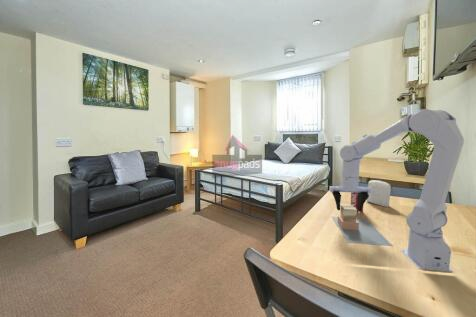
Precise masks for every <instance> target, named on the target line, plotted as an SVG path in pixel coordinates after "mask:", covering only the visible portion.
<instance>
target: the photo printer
mask: <svg viewBox="0 0 476 317" xmlns="http://www.w3.org/2000/svg"><path fill="white" fill-rule="evenodd" d="M391 186H392V185H391V184H390V183H388V182H385V181H382V180H378V179H377V180H374V179H373V180H369V181H368V183H367V187H369V188H371V193H368V194H369V197H368V199H367V200H366V202H368V203H371V204H375V205H377V206H381V207H385V208H387V207H389V206H390V198H391V188H392V187H391Z"/></svg>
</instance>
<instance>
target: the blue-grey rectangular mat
mask: <svg viewBox="0 0 476 317" xmlns="http://www.w3.org/2000/svg"><path fill="white" fill-rule="evenodd" d="M331 218H332V220H333V222H334V223H335V225H336V226H337V228H338V230H339V231H340V233H341V234H342V236H343V237H344V239H345V241H346V242H347V243H349V244H363V245H373V246H374V245H375V246H376V245H377V246H390V247H393V244H392V243H391V242H390V241H389V240H388V239H387V238H386V237H385V236H384V235H383V234H382V233H381V232H380V231H379V230H378V229H377V228H376V227H375V225H373V224H372V223H371V222H370V221H369V220H368V219H367V218H364V217H362V218H361V217H356V220H357V221H358V222H359V230H347V229H341V227H340V225H339V224H338V216H331Z"/></svg>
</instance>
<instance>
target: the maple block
mask: <svg viewBox="0 0 476 317" xmlns="http://www.w3.org/2000/svg"><path fill="white" fill-rule="evenodd" d="M339 216H340V217H341V218H342V219H343V221H351V222H356V218H358V217H357V209H356V208H355V207H354V206H353V205H351V204H340V214H339Z"/></svg>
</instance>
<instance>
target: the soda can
mask: <svg viewBox="0 0 476 317" xmlns="http://www.w3.org/2000/svg"><path fill="white" fill-rule="evenodd" d="M357 204H358V195H357V193H356V192H350V205H353V206H354V207H355V208H356V209H357ZM363 213H364V206H363V207H362V210H361V211H358V210H357V214H363Z"/></svg>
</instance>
